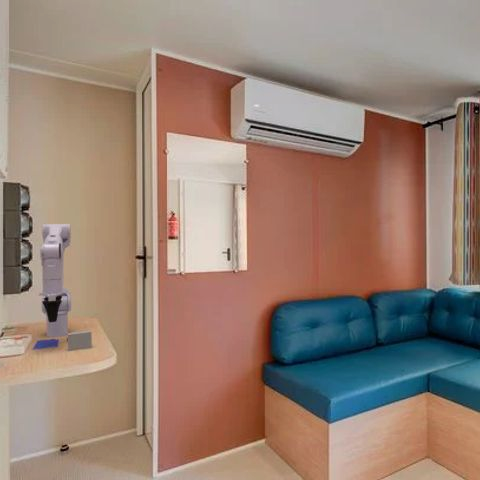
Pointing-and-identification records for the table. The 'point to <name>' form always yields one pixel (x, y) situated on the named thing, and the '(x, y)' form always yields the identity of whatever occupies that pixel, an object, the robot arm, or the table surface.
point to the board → (79, 340)
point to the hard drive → (46, 344)
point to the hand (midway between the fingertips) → (53, 319)
